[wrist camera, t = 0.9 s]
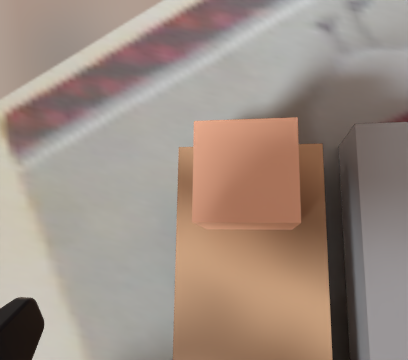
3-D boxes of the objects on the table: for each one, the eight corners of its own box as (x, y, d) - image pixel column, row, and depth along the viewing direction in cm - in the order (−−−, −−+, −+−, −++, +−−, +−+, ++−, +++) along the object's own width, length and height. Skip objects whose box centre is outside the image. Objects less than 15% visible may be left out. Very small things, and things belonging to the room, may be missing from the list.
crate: (292, 229, 18) (301, 223, 14) (206, 229, 18) (192, 222, 14) (289, 146, 18) (297, 117, 14) (207, 148, 19) (194, 121, 15)
